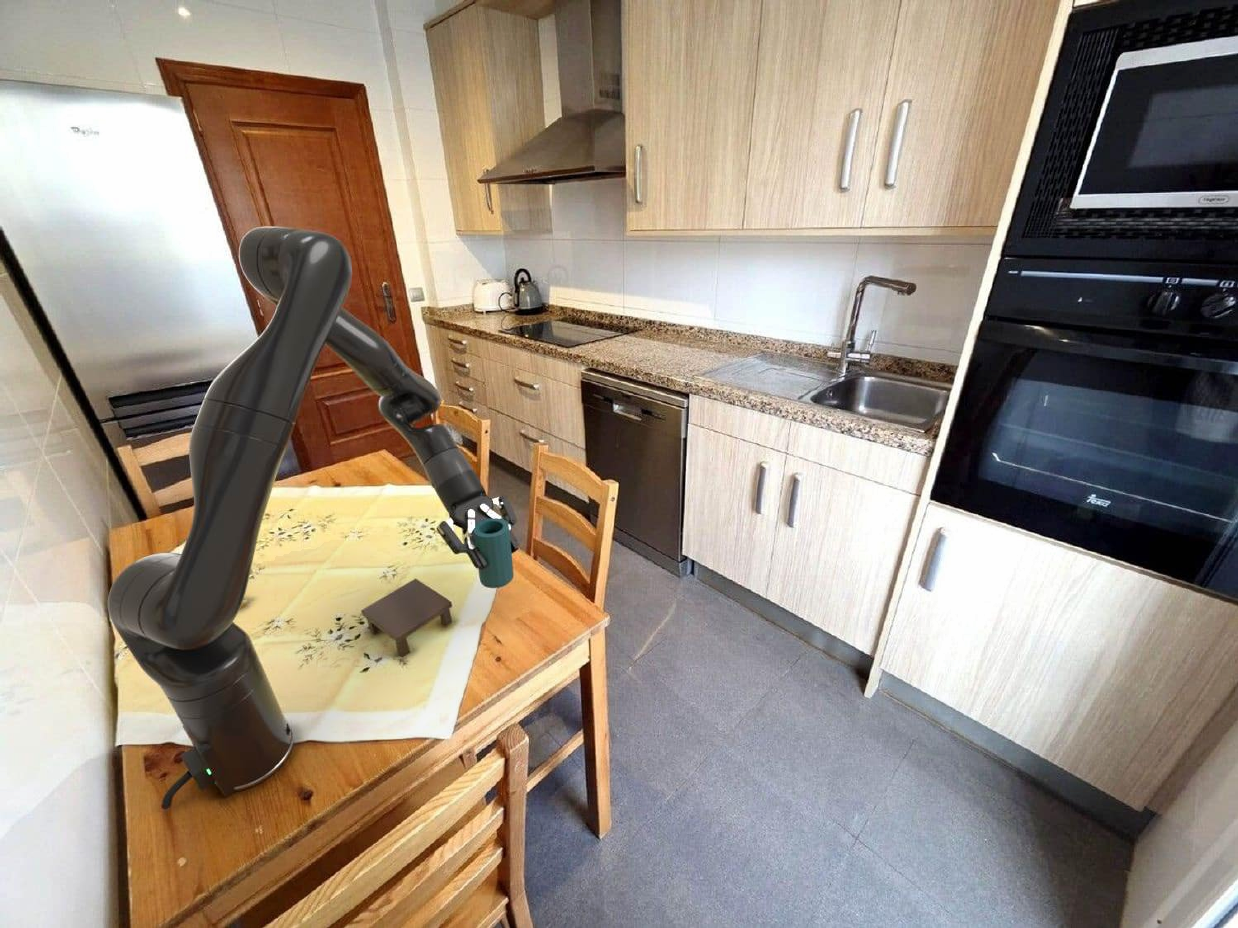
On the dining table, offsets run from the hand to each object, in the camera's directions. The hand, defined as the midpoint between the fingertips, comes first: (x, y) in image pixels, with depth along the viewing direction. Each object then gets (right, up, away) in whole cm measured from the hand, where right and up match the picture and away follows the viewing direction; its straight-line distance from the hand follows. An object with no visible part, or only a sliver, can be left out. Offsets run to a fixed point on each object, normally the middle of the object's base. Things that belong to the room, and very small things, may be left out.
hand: (500, 559), depth 89 cm
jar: (-1, -4, +3) cm, 5 cm away
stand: (-17, -13, +3) cm, 22 cm away
